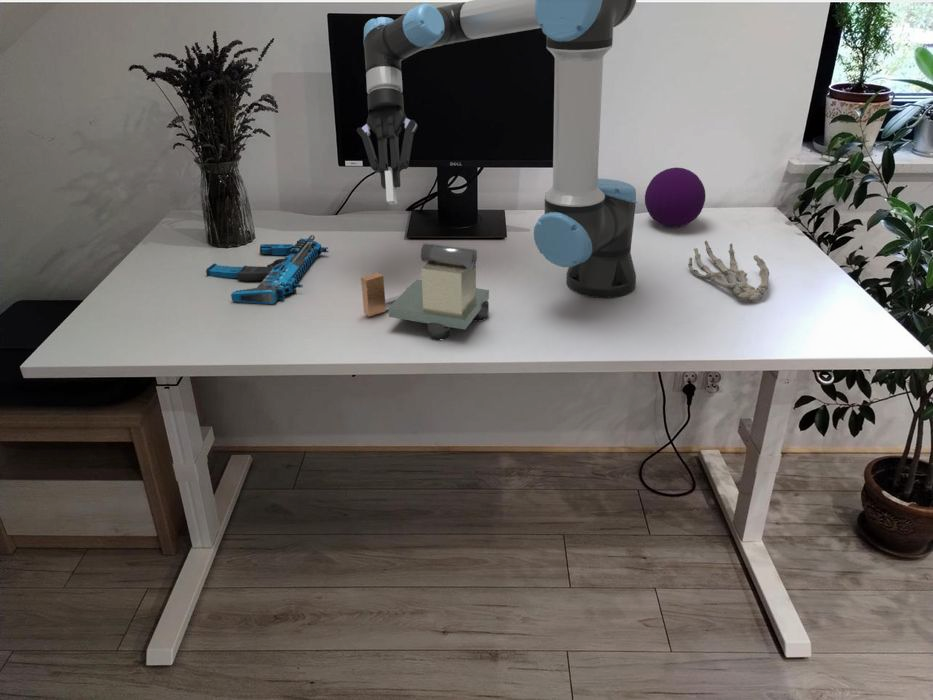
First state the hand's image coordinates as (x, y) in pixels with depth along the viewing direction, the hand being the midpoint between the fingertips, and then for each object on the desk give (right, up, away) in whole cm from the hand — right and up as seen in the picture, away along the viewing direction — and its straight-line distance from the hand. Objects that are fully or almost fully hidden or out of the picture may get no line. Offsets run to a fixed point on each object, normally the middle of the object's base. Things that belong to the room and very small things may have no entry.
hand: (392, 202), depth 164 cm
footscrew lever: (+1, -21, +1) cm, 21 cm away
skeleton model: (+74, -15, +12) cm, 77 cm away
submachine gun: (-31, -13, +19) cm, 38 cm away
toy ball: (+69, +1, +41) cm, 80 cm away
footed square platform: (+10, -25, -4) cm, 27 cm away
